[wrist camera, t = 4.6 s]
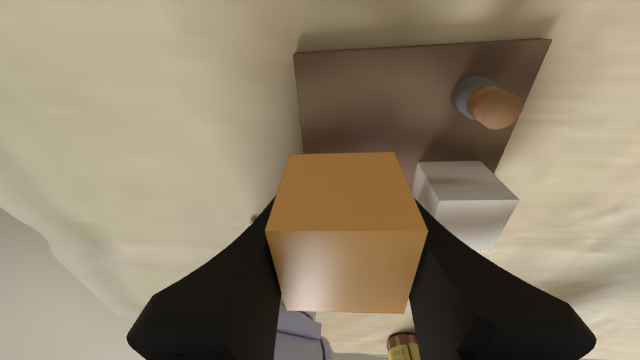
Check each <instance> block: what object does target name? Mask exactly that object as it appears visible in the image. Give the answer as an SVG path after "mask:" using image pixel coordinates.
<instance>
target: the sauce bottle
mask: <svg viewBox="0 0 640 360" xmlns="http://www.w3.org/2000/svg"><path fill="white" fill-rule="evenodd" d="M387 349H388V357H389V360H420V355H419V349H418V343H417V337H416V335H411V334H406V333H405V334H397V335H394V336H392V337H390V338H389V339H388V340H387Z"/></svg>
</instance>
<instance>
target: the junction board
mask: <svg viewBox="0 0 640 360" xmlns="http://www.w3.org/2000/svg"><path fill="white" fill-rule="evenodd" d="M551 41H552V40H551V39H542V38H537V39H520V40H503V41H486V42H469V43H451V44H434V45H417V46H400V47H383V48H365V49H348V50H331V51H314V52H297V53H294V54H293V57H294V66H295V75H296V85H297V94H298V103H299V112H300V122H301V131H302V140H303V149H304V154H331V153H371V152H394V153H395V155H396V158H397V160H398V162H399V165H400V167H401V169H402V172H403V174H404V176H405V179H406V181H407V183H408V185H409V188H410V190H411V192H412V195H413V197H414V198H415V199H416V200H417V201H418V202H419V203H420V204H421V205H422V206H423V207H424V208H425V209H426V210H427V211H428V212H429V213H430V214H431V215H432V216H433V217H434V218H435V219H436V220H437V221H438V222H439V223H440V224H441V225H443V226H444V227H445V228H446V229H447V230H448V231H450V232H451V233H452V234H453V235H454V236H456V237H457V238H458V239H460V240H461V241H462V242H464V243H465V244H466V245H468V246H469V247H470V248H472V249H473V250H492V249H493V247H494V245H495V243H496V241H497V240H498V238H499V236H500V234H501V232H502V230H503V229H504V227H505V225H506V223H507V221H508V220H509V218H510V216H511V214H512V212H513V211H514V209H515V207H516V205H517V203H518V201H519V199H518V198H517V197H516V196H515V195H514V194H513V193H512V192H511V191H510V190H509V189H508V188H507V187H506V186H505V185H504V184H503V183H502V182H501V181H500V180H499V179H498V178H497V177H496V176H495V175H494V172H495V170H496V168H497V165H498V163H499V161H500V158H501V156H502V154H503V152H504V149H505V147H506V145H507V142H508V140H509V138H510V136H511V133H512V131H513V129H514V126H515V124H516V122H517V119H518V117H519V115H520V114H521V112H522V108H523V106H524V103H525V101H526V99H527V97H528V94H529V92H530V90H531V87H532V85H533V83H534V80H535V78H536V76H537V74H538V71H539V69H540V67H541V64H542V62H543V60H544V58H545V55H546V53H547V51H548V48H549V46H550V44H551Z"/></svg>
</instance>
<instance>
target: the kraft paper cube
mask: <svg viewBox="0 0 640 360" xmlns="http://www.w3.org/2000/svg"><path fill="white" fill-rule="evenodd" d="M265 233H266V237H267V241H268V244H269V248H270V252H271V255H272V259H273V263H274V266H275V270H276V274H277V277H278V281H279V285H280V288H281V292H282V296H283V299H284V303H285V307H286V310H287V311H315V312H353V313H392V314H404V312H405V308H406V305H407V301H408V298H409V294H410V291H411V288H412V284H413V281H414V277H415V274H416V271H417V267H418V264H419V260H420V257H421V254H422V250H423V247H424V243H425V240H426V236H427V233H428V229H427V227H426V225H425V222H424V220H423V218H422V216H421V213H420V211H419V209H418V206H417V204H416V202H415V199H414V197H413V195H412V192H411V190H410V188H409V185H408V183H407V181H406V179H405V176H404V174H403V172H402V169H401V167H400V165H399V162H398V160H397V158H396V155H395V153H394V152H371V153H331V154H291V155H289V159H288V162H287V165H286V168H285V171H284V174H283V177H282V180H281V183H280V186H279V189H278V192H277V195H276V198H275V201H274V204H273V207H272V210H271V214H270V217H269V220H268V223H267V226H266V229H265Z"/></svg>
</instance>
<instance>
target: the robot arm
mask: <svg viewBox="0 0 640 360" xmlns="http://www.w3.org/2000/svg"><path fill="white" fill-rule="evenodd" d="M275 198H276V196H275V197H274V198H273V200H272V201H271V202H270V203H269V205H268V206H267V207H266V208H265V209H264V211H263V212H262V213H261V214H260V215H259V216H258V217H257V219H256V220H255V221H251V222H250V224H249V227H248V228H247V229H246V230H245V231H244V232H243V233H242V234H241V235H240V236H239V237H238V238H237V239H236V240H235V241H233V242H232V243H231V244H230V245H229V246H228V247H226V248H225V249H224V250H223V251H221V252H220V253H219V254H217V255H216V256H215V257H213V258H212V259H211V260H210V261H208V262H207V263H205V264H204V265H202V266H201V267H199V268H198V269H197V270H195V271H193V272H192V273H190V274H189V275H187V276H186V277H184V278H182V279H181V280H179V281H177V282H176V283H174V284H172V285H170V286H169V287H167V288H165V289H163V290H162V291H160V292H158V293H156V294H154V295H153V296H152V298H151V299H150V300H149V302H148V303H147V305H146V306H145V308H144V309H143V311H142V312H141V314H140V315H139V317H138V319H137V320H136V322H135V323H134V325H133V326H132V328H131V329H130V331H129V332H128V334H127V341H128V344H129V345H130V346H131V347H132V348H133V349H134V350H135V351H136V352H138V353H139V354H140V355H141V356H142V357H144V358H145V359H146V360H335V357H334V353H333V351H332V348H331V346H330V343H329V341H328V340H327V339H326V338H325V337H321V323H318V322H315V315H316V312H315V311H287V310H286V307H285V303H284V299H283V296H282V292H281V288H280V285H279V281H278V277H277V274H276V270H275V266H274V263H273V259H272V255H271V252H270V248H269V244H268V241H267V237H266V233H265V229H266V226H267V223H268V220H269V217H270V214H271V210H272V207H273V204H274V201H275ZM414 199H415V198H414ZM415 202H416V204H417V206H418V209H419V211H420V213H421V216H422V218H423V220H424V222H425V225H426V227H427V229H428V233H427V236H426V240H425V243H424V247H423V250H422V254H421V257H420V260H419V264H418V267H417V271H416V274H415V277H414V281H413V284H412V288H411V291H410V294H409V300H410V305H411V310H412V316H413V321H414V326H415V332H416V337H417V343H418V349H419V355H420V360H579V359H580V358H582V357H583V356H585V355H586V354H588V353H589V352H590V351H591V350H592V349H593V348H594V347H595V344H596V340H597V339H596V337H595V335H594V334H593V333H592V331H591V330H590V329H589V328H588V327H587V325H586V324H585V323H584V322H583V320H582V319H581V318H580V317H579V316H578V314H577V313H576V312H575V311H574V309H573V308H572V307H571V306H570V305H569V304H568V303H566V302H564V301H562V300H560V299H558V298H556V297H554V296H552V295H550V294H548V293H546V292H544V291H542V290H540V289H538V288H536V287H534V286H532V285H530V284H528V283H527V282H525V281H523V280H521V279H520V278H518V277H516V276H514V275H512V274H511V273H509V272H507V271H506V270H504V269H502V268H501V267H499V266H497V265H496V264H494V263H493V262H491V261H490V260H488V259H486V258H485V257H483V256H482V255H480V254H479V253H477V252H476V251H475V250H473V249H472V248H470V247H469V246H468V245H466V244H465V243H464V242H462V241H461V240H460V239H458V238H457V237H456V236H454V235H453V234H452V233H451V232H450V231H448V230H447V229H446V228H445V227H444V226H443V225H441V224H440V223H439V222H438V221H437V220H436V219H435V218H434V217H433V216H432V215H431V214H430V213H429V212H428V211H427V210H426V209H425V208H424V207H423V206H422V205H421V204H420V203H419V202H418V201H417V200H416V199H415Z"/></svg>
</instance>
